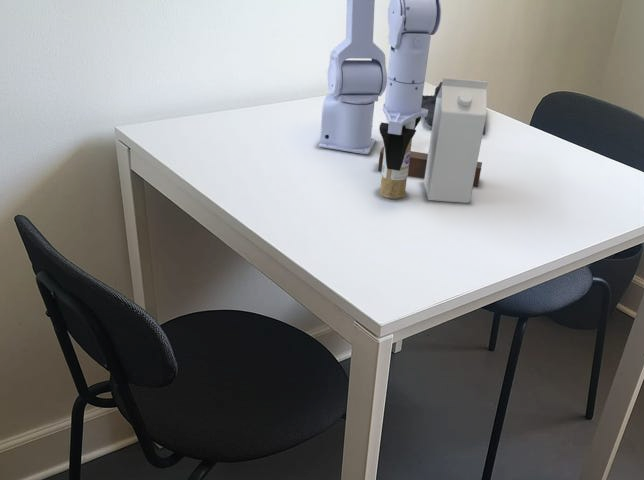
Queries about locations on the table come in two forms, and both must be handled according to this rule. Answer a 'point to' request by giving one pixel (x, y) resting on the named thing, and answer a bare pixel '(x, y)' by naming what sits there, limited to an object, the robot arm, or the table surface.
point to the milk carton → (455, 140)
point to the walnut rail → (424, 165)
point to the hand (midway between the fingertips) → (395, 163)
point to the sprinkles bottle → (396, 173)
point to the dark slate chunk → (432, 106)
